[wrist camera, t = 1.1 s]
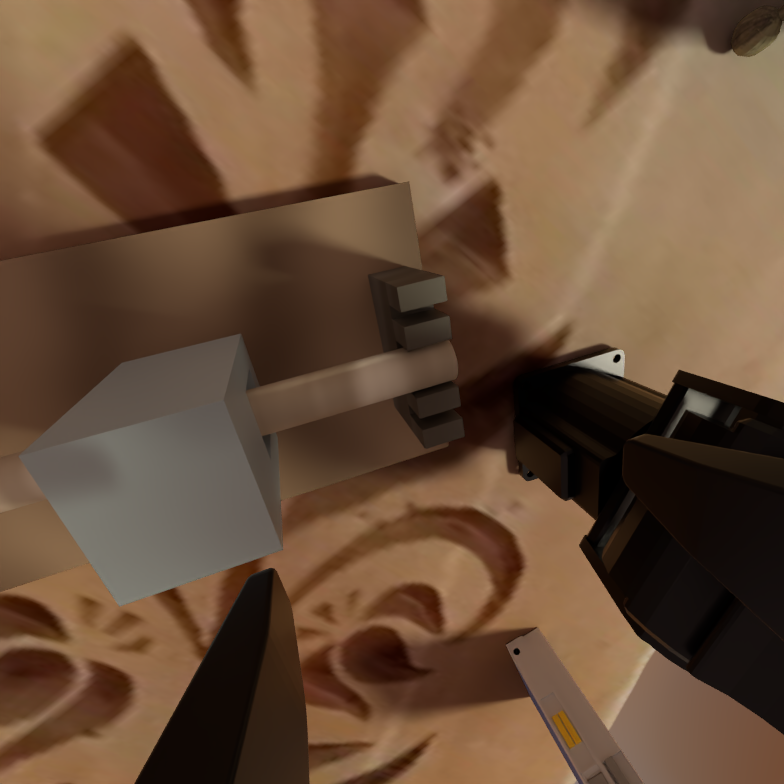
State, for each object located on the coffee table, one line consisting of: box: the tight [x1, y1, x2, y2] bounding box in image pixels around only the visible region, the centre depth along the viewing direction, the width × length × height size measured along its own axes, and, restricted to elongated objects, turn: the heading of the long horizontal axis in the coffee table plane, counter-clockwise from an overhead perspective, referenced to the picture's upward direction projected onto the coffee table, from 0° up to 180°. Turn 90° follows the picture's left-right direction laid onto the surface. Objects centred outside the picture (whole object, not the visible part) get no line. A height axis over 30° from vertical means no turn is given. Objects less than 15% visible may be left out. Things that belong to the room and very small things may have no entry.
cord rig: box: [0, 182, 465, 592], centre depth 14 cm, size 25×12×6 cm, turn 101°
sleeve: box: [19, 334, 283, 607], centre depth 12 cm, size 4×4×6 cm
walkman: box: [506, 628, 644, 784], centre depth 26 cm, size 8×3×12 cm, turn 23°
